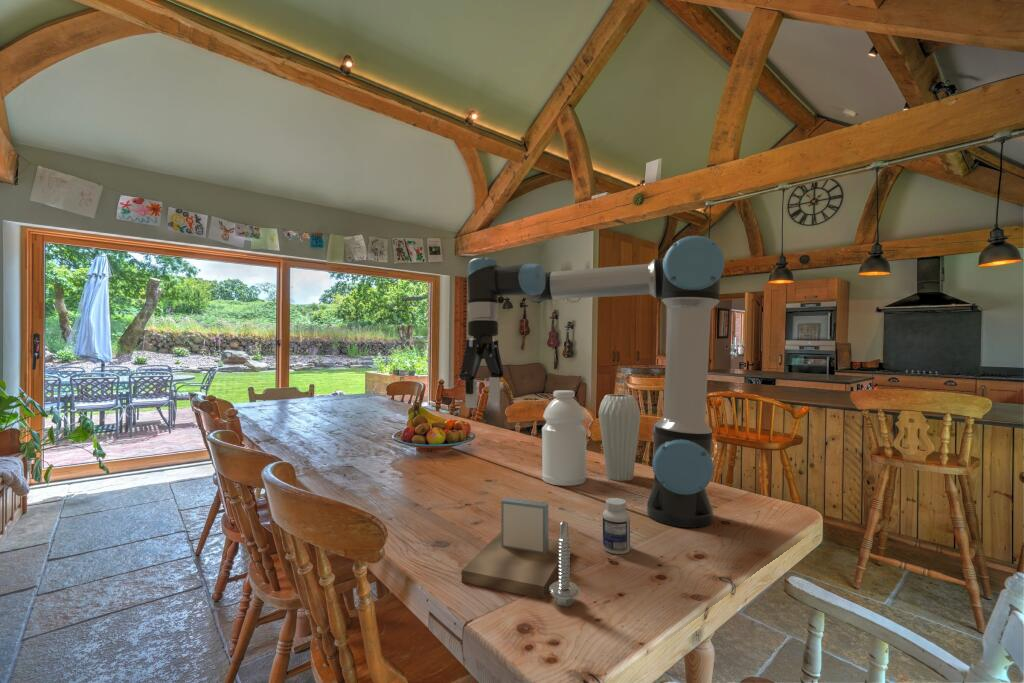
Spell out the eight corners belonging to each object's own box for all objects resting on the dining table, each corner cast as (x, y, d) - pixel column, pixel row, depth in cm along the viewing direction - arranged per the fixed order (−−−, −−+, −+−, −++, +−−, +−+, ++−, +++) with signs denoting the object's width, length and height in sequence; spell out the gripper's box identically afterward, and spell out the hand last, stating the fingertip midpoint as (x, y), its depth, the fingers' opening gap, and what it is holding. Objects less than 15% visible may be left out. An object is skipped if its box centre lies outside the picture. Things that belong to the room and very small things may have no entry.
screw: (585, 604, 71) (563, 614, 68) (564, 591, 75) (542, 600, 72) (585, 521, 71) (563, 528, 68) (564, 513, 75) (542, 519, 72)
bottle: (532, 479, 140) (532, 390, 141) (560, 471, 150) (560, 388, 150) (568, 489, 130) (567, 393, 130) (595, 480, 140) (595, 391, 140)
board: (569, 552, 89) (569, 542, 89) (543, 598, 72) (543, 586, 72) (500, 541, 94) (500, 531, 94) (461, 581, 78) (461, 570, 78)
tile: (548, 550, 86) (548, 503, 86) (545, 554, 84) (545, 506, 84) (505, 542, 89) (505, 497, 89) (501, 547, 87) (501, 501, 87)
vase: (591, 473, 147) (591, 394, 147) (626, 470, 151) (626, 393, 151) (612, 485, 134) (611, 398, 135) (649, 481, 138) (649, 396, 139)
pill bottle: (610, 541, 95) (610, 494, 95) (634, 548, 91) (633, 500, 91) (598, 549, 90) (597, 501, 91) (622, 557, 87) (622, 507, 87)
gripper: (490, 323, 125) (490, 399, 125) (444, 317, 102) (445, 410, 101) (514, 322, 122) (515, 400, 122) (474, 316, 99) (474, 411, 99)
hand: (483, 404), depth 112 cm, fingers open, 13 cm apart
